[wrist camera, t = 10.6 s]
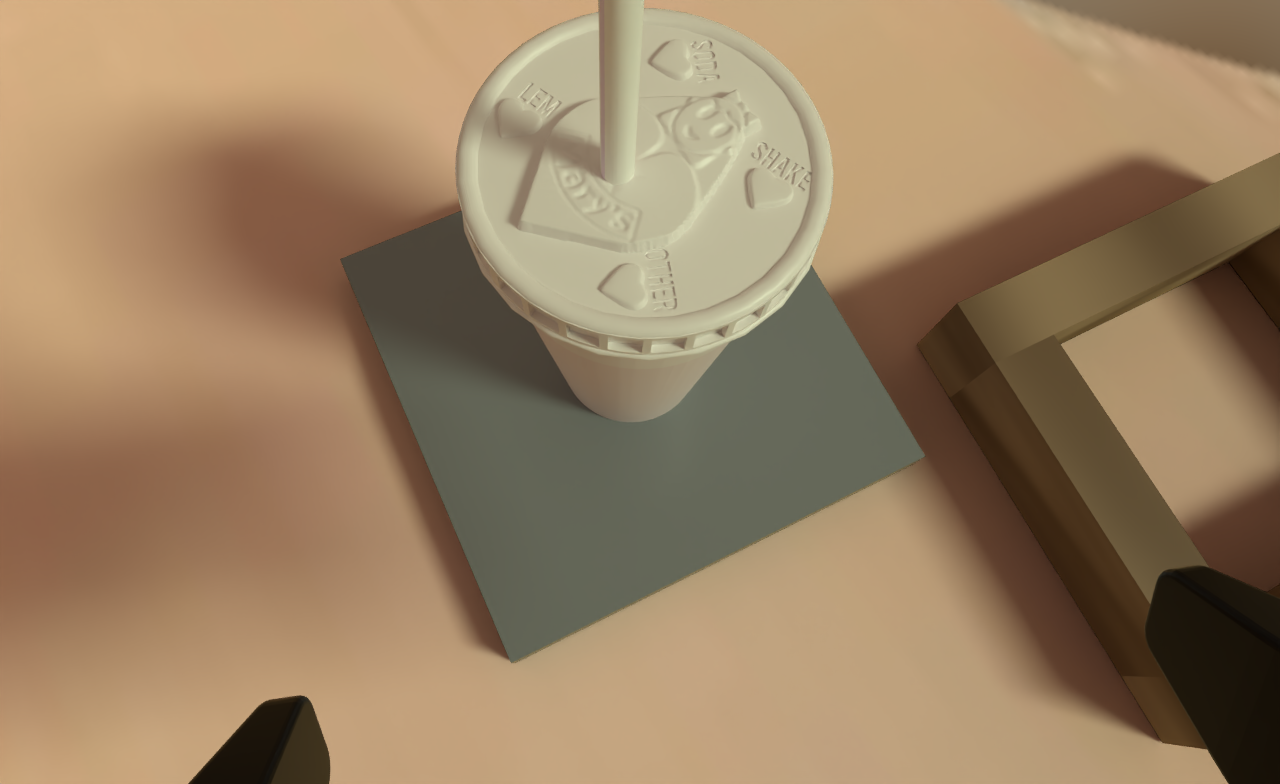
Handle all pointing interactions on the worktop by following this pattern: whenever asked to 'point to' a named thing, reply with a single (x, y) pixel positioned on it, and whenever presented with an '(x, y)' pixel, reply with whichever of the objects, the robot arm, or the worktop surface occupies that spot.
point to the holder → (1077, 423)
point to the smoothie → (642, 196)
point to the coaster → (613, 440)
